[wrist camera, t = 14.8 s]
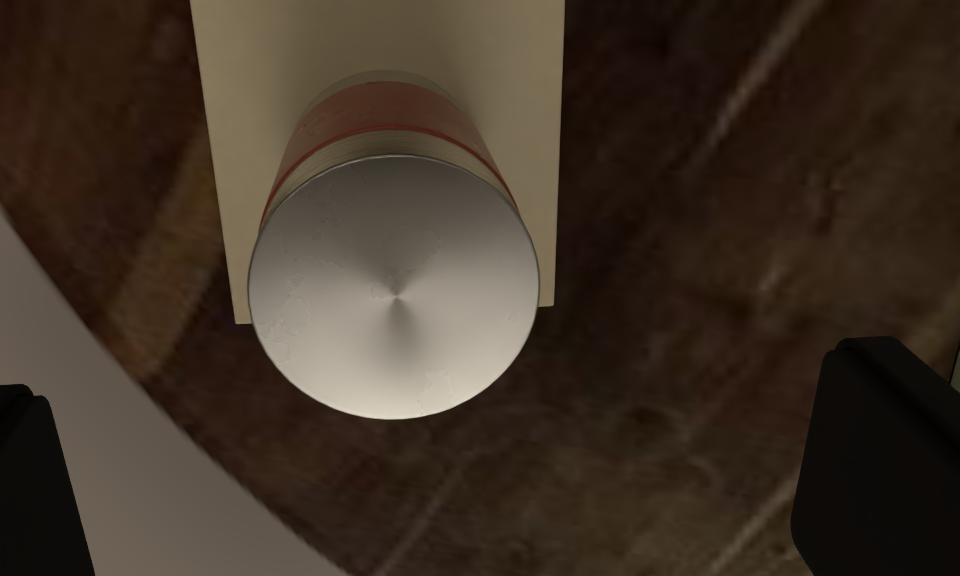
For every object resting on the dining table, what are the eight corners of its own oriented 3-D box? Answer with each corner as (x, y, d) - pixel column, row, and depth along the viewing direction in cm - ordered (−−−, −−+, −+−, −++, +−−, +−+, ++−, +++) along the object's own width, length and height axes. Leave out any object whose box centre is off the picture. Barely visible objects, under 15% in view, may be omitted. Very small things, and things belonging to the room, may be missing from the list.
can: (276, 69, 22) (225, 157, 14) (483, 64, 23) (547, 145, 15) (296, 263, 25) (262, 432, 17) (484, 253, 25) (539, 412, 17)
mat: (190, -23, 22) (186, -21, 21) (561, -28, 23) (566, -26, 22) (238, 316, 26) (235, 324, 25) (550, 298, 27) (554, 306, 26)
